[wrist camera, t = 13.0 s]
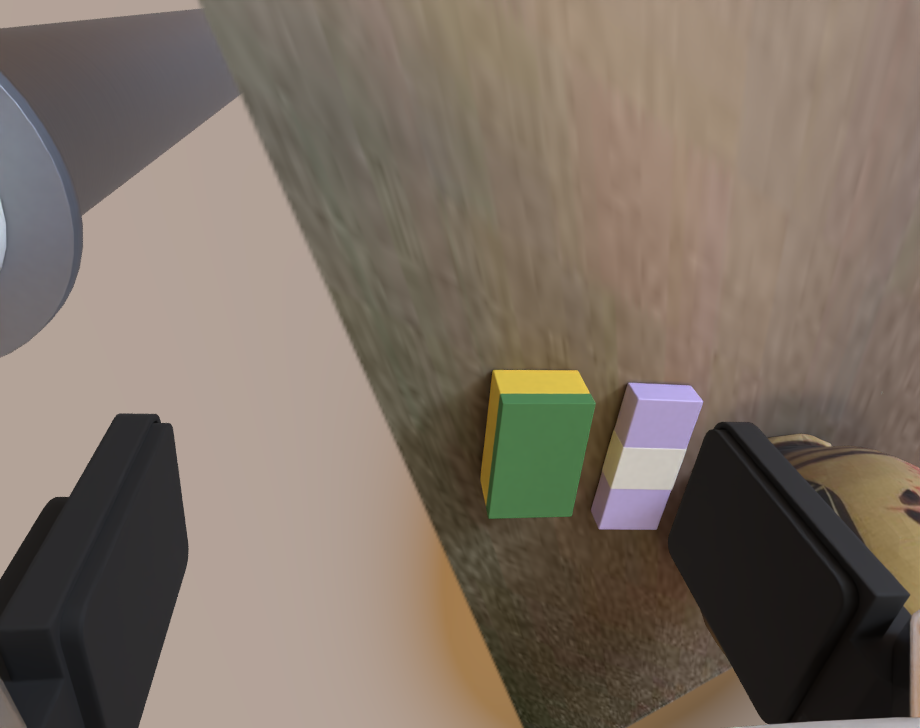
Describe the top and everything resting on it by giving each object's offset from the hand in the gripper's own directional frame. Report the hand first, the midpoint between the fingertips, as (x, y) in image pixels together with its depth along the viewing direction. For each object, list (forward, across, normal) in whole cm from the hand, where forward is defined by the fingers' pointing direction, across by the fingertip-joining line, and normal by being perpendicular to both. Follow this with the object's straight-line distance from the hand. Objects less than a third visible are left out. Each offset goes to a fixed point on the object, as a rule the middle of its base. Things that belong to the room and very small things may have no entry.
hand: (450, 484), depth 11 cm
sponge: (+22, -9, +14) cm, 28 cm away
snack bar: (+22, -16, +16) cm, 31 cm away
